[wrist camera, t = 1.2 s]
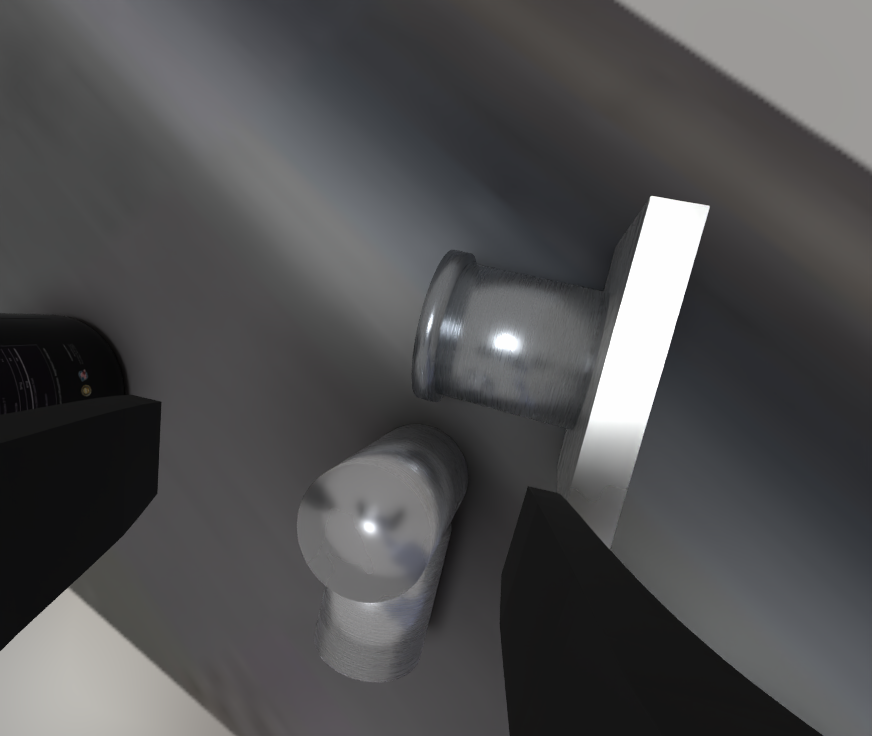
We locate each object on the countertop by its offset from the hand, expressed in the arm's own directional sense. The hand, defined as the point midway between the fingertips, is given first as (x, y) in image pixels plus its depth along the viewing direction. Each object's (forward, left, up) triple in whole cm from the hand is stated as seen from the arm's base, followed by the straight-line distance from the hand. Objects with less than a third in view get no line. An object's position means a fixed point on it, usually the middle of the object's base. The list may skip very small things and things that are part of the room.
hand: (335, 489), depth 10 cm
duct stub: (+3, -3, -10) cm, 11 cm away
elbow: (-5, 0, -10) cm, 11 cm away
